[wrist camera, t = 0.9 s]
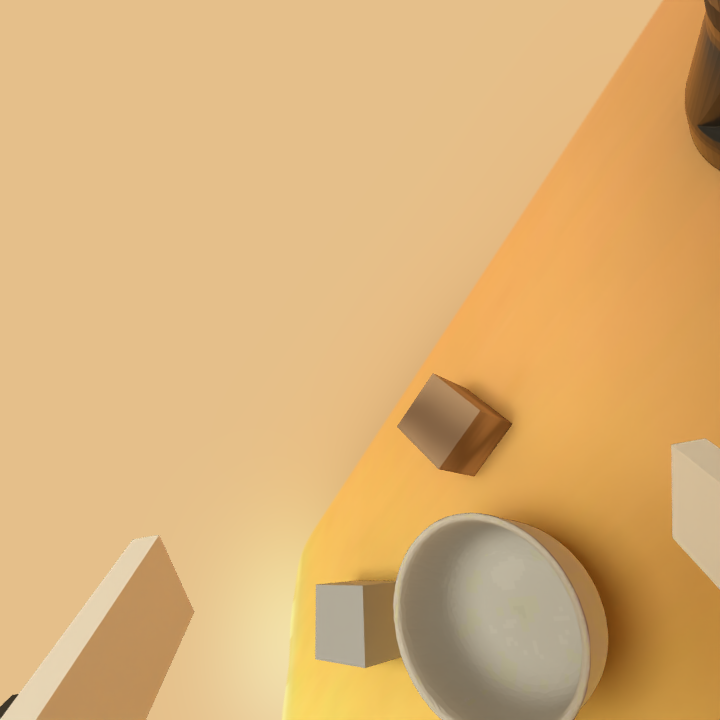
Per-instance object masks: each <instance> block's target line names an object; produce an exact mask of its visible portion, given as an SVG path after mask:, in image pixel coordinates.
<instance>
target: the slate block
mask: <svg viewBox="0 0 720 720" xmlns="http://www.w3.org/2000/svg"><path fill="white" fill-rule="evenodd" d="M395 584H396V581H349V582H338V583H328V584H317V585H316V658H315V659H317V660H323V661H329V662H334V663H340V664H346V665H351V666H357V667H363V668H367V667H370V666H373V665H376V664H380V663H383V662H386V661H390V660H393V659H396V658H400V657H401V654H400V650H399V646H398V642H397V639H396V630H395V623H394V610H393V602H394V592H395Z"/></svg>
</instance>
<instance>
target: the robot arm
mask: <svg viewBox="0 0 720 720" xmlns="http://www.w3.org/2000/svg"><path fill="white" fill-rule="evenodd" d="M704 1H705V7H706V13H705V16H704V20H703V24H702V27H701V31H700V35H699V38H698V42H697V46H696V50H695V53H694V57H693V61H692V64H691V68H690V72H689V75H688V79H687V84H686V90H685V110H686V115H687V120H688V124H689V128H690V132H691V135H692V139H693V141H694V143H695V145H696V147H697V149H698V150H699V152H700V153H701V154H702V156H703V157H704V158H705V159H706V160H707V161H708V162H710V163H711V164H712V165H713V166H715V167H716V168H718V169H719V170H720V0H704ZM671 450H672V538H673V539H674V540H675V541H676V542H677V543H678V544H679V545H680V546H681V548H682V549H683V550H684V551H685V552H686V553H687V554H688V555H689V556H690V557H691V559H692V560H693V561H694V562H695V563H696V564H697V565H698V566H699V567H700V568H701V569H702V571H703V572H704V573H705V574H706V575H707V576H708V577H709V578H710V579H711V580H712V582H713V583H714V584H715V585H716V586H717V587H718V588H719V589H720V448H718V447H717V446H716V445H714V444H713V443H711V442H710V441H708V440H707V439H700V440H695V441H689V442H683V443H677V444H672V445H671ZM193 614H194V610H193V608H192V606H191V604H190V602H189V599H188V597H187V595H186V593H185V591H184V588H183V586H182V584H181V582H180V580H179V577H178V575H177V573H176V571H175V569H174V566H173V564H172V562H171V560H170V558H169V555H168V553H167V551H166V549H165V547H164V545H163V542H162V540H161V538H160V536H159V535H156V536H151V537H145V538H139V539H133V540H132V541H131V543H130V544H129V546H128V547H127V548H126V550H125V551H124V552H123V554H122V555H121V556H120V558H119V559H118V561H117V562H116V563H115V564H114V566H113V567H112V569H111V570H110V571H109V573H108V574H107V575H106V577H105V578H104V579H103V581H102V582H101V584H100V585H99V586H98V587H97V589H96V590H95V592H94V593H93V594H92V596H91V597H90V598H89V600H88V601H87V602H86V604H85V605H84V607H83V608H82V609H81V611H80V612H79V613H78V615H77V616H76V617H75V619H74V620H73V622H72V623H71V624H70V626H69V627H68V628H67V630H66V631H65V632H64V634H63V635H62V636H61V638H60V639H59V640H58V642H57V643H56V644H55V646H54V647H53V649H52V650H51V651H50V653H49V654H48V655H47V657H46V658H45V659H44V661H43V662H42V663H41V665H40V666H39V667H38V669H37V670H36V672H35V673H34V674H33V676H32V677H31V678H30V680H29V681H28V682H27V684H26V685H25V686H24V688H23V689H22V690H21V692H20V693H19V694H16V695H12V696H11V697H10V698H9V699H8V700H7V701H6V702H5V703H4V704H3V705H2V706H1V707H0V720H146V718H147V716H148V714H149V711H150V709H151V707H152V705H153V702H154V700H155V698H156V696H157V694H158V691H159V689H160V687H161V685H162V683H163V680H164V678H165V676H166V674H167V671H168V669H169V667H170V665H171V663H172V660H173V658H174V656H175V654H176V651H177V649H178V647H179V645H180V643H181V640H182V638H183V636H184V634H185V632H186V629H187V627H188V625H189V622H190V620H191V618H192V616H193Z"/></svg>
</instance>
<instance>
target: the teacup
mask: <svg viewBox="0 0 720 720" xmlns="http://www.w3.org/2000/svg"><path fill="white" fill-rule="evenodd" d="M393 610H394V623H395V630H396V639H397V642H398V646H399V650H400V654H401V657H402V660H403V663H404V665H405V667H406V669H407V671H408V674H409V676H410V678H411V680H412V682H413V684H414V686H415V687H416V689H417V691H418V692H419V694H420V695H421V697H422V698H423V700H424V701H425V702H426V703H427V704H428V706H429V707H430V709H431V710H432V711H433V712H434V713H435V714H436V715H437V716H438V717H439V718H440V719H442V720H574V719H575V717H576V715H577V714H578V712H579V710H580V709H581V708H582V707H583V706H584V705H585V703H586V702H587V701H588V699H589V698H590V697H591V695H592V694H593V692H594V690H595V689H596V687H597V685H598V683H599V681H600V679H601V677H602V674H603V671H604V667H605V663H606V659H607V652H608V628H607V621H606V615H605V611H604V607H603V604H602V602H601V599H600V596H599V593H598V591H597V589H596V587H595V585H594V583H593V581H592V579H591V578H590V576H589V574H588V573H587V571H586V570H585V568H584V567H583V566H582V564H581V563H580V562H579V561H578V559H577V558H576V557H575V556H574V555H573V554H572V553H571V552H570V551H569V550H568V549H567V548H566V547H565V546H564V545H562V544H561V543H560V542H559V541H557V540H556V539H554V538H553V537H552V536H550V535H548V534H547V533H545V532H543V531H541V530H539V529H537V528H535V527H532V526H530V525H527V524H524V523H521V522H517V521H513V520H508V519H501V518H499V517H495V516H491V515H486V514H480V513H464V514H457V515H452V516H448V517H445V518H443V519H441V520H438V521H436V522H435V523H433V524H432V525H431V526H429V527H428V528H427V529H426V530H424V531H423V532H422V533H421V534H420V535H419V536H418V537H417V538H416V540H415V541H414V542H413V544H412V545H411V546H410V548H409V550H408V551H407V553H406V555H405V557H404V559H403V562H402V564H401V566H400V569H399V573H398V576H397V579H396V584H395V592H394V602H393Z"/></svg>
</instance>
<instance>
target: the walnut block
mask: <svg viewBox="0 0 720 720" xmlns="http://www.w3.org/2000/svg"><path fill="white" fill-rule="evenodd" d="M511 425H512V423H510V422H509V421H508V420H506V419H505V418H504V417H503V416H501V415H500V414H499V413H497V412H496V411H495V410H493V409H492V408H491V407H489V406H488V405H487V404H486V403H484V402H483V401H482V400H480V399H479V398H478V397H476V396H475V395H474V394H472V393H471V392H470V391H469V390H467V389H466V388H464V387H461V386H459V385H457V384H455V383H453V382H451V381H449V380H446V379H444V378H442V377H440V376H438V375H436V374H432V376H431V377H430V379H429V380H428V382H427V383H426V384H425V386H424V387H423V389H422V390H421V392H420V393H419V395H418V396H417V398H416V399H415V401H414V402H413V404H412V405H411V407H410V408H409V410H408V411H407V413H406V414H405V416H404V417H403V419H402V420H401V422H400V423H399V425H398V426H397V427H398V428H399V429H400V430H401V431H402V432H403V433H404V434H405V435H406V436H407V437H408V438H409V439H410V440H411V441H412V442H413V444H414V445H415V446H416V447H417V448H418V449H419V450H420V451H421V452H422V453H423V454H424V455H425V456H426V457H427V458H428V459H429V460H430V461H431V462H432V463H433V464H434V465H435V466H436V467H437V468H438V469H440V470H445V471H450V472H455V473H460V474H465V475H470V476H475V474H476V473H477V472H478V470H479V469H480V467H481V466H482V465H483V463H484V462H485V461H486V459H487V458H488V456H489V455H490V454H491V452H492V451H493V450H494V448H495V447H496V446H497V444H498V443H499V441H500V440H501V439H502V437H503V436H504V435H505V433H506V432H507V430H508V429H509V428H510V426H511Z"/></svg>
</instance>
